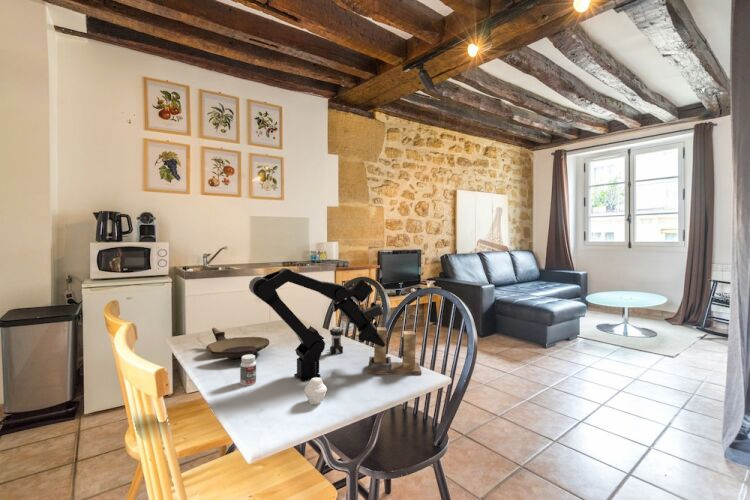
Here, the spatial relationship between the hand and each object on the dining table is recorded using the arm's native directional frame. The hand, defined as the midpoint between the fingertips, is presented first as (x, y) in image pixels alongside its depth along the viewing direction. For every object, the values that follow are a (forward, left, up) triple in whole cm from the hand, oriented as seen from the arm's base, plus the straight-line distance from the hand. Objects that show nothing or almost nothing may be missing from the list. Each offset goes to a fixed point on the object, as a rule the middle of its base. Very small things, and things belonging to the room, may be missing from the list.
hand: (384, 344), depth 123 cm
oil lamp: (-34, +48, -9) cm, 59 cm away
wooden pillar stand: (+3, -2, -9) cm, 10 cm away
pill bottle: (-41, +18, -9) cm, 46 cm away
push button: (-4, +25, -9) cm, 27 cm away
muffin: (-31, -6, -9) cm, 33 cm away
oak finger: (-1, +1, -7) cm, 7 cm away
